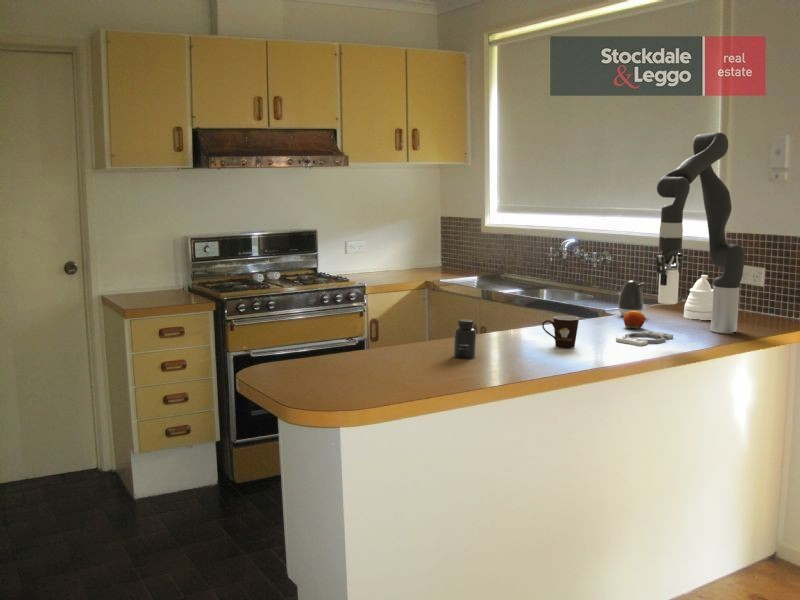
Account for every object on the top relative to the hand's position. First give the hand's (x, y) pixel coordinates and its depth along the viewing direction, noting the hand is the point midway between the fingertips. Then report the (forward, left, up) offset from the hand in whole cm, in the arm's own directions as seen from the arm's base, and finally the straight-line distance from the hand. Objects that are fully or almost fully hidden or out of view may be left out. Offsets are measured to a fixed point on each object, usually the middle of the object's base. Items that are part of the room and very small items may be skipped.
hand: (668, 284), depth 291 cm
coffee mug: (+30, -22, -21) cm, 43 cm away
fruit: (-19, -24, -22) cm, 38 cm away
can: (0, 0, -7) cm, 7 cm away
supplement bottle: (+68, -32, -21) cm, 78 cm away
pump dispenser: (-42, -40, -21) cm, 62 cm away
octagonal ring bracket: (-2, -9, -21) cm, 23 cm away
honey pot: (-61, -19, -22) cm, 68 cm away
